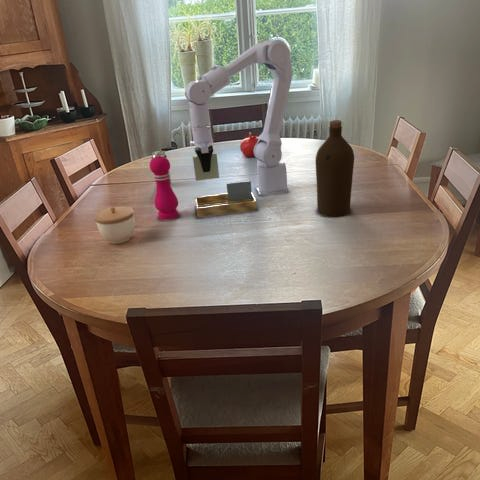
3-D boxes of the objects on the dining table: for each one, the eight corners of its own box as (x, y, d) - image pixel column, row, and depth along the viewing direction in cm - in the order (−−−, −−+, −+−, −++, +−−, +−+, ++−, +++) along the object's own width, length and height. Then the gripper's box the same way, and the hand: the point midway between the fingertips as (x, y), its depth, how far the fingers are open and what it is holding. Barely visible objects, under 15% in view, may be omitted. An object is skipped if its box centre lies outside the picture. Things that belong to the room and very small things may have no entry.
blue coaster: (252, 203, 151) (250, 180, 147) (252, 204, 151) (250, 181, 147) (228, 206, 151) (226, 183, 147) (228, 207, 150) (226, 184, 146)
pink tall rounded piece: (160, 189, 174) (154, 155, 167) (154, 186, 177) (148, 152, 171) (173, 185, 176) (168, 152, 169) (167, 182, 180) (161, 149, 173)
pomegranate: (264, 157, 198) (263, 134, 193) (240, 159, 198) (238, 136, 193) (264, 151, 206) (262, 128, 201) (241, 153, 206) (239, 130, 201)
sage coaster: (219, 177, 153) (216, 153, 149) (219, 177, 152) (216, 153, 148) (195, 180, 153) (192, 156, 149) (195, 180, 152) (192, 156, 148)
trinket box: (120, 249, 131) (112, 216, 126) (93, 243, 136) (84, 212, 131) (146, 234, 139) (139, 203, 134) (119, 229, 144) (112, 199, 139)
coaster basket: (252, 199, 156) (251, 190, 154) (256, 211, 147) (256, 201, 145) (196, 206, 155) (194, 197, 153) (197, 218, 146) (196, 208, 144)
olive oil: (355, 216, 137) (359, 123, 123) (317, 219, 137) (318, 127, 124) (348, 203, 146) (351, 115, 132) (313, 206, 146) (313, 119, 133)
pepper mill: (184, 213, 151) (174, 147, 140) (174, 221, 145) (163, 154, 134) (163, 212, 153) (152, 147, 142) (153, 220, 147) (140, 154, 137)
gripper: (187, 122, 150) (193, 166, 157) (188, 132, 137) (195, 179, 145) (209, 120, 150) (214, 163, 157) (213, 129, 138) (218, 176, 145)
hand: (206, 171), depth 151 cm, fingers closed on sage coaster, 1 cm apart
